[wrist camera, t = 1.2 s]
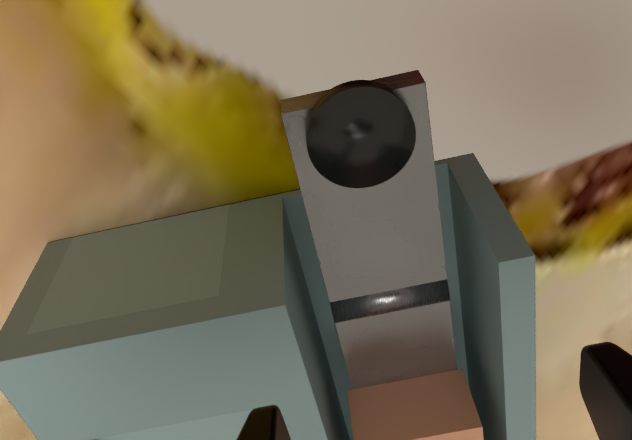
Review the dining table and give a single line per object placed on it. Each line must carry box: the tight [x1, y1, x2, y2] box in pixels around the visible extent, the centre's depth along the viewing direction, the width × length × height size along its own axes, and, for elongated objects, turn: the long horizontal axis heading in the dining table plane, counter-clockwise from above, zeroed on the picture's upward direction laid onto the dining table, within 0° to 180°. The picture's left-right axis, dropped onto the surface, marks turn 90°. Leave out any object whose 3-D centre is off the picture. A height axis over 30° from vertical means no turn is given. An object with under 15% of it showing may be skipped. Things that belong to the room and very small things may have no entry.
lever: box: [281, 70, 457, 390], centre depth 22 cm, size 19×4×2 cm, turn 12°
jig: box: [0, 153, 536, 440], centre depth 24 cm, size 18×16×6 cm
